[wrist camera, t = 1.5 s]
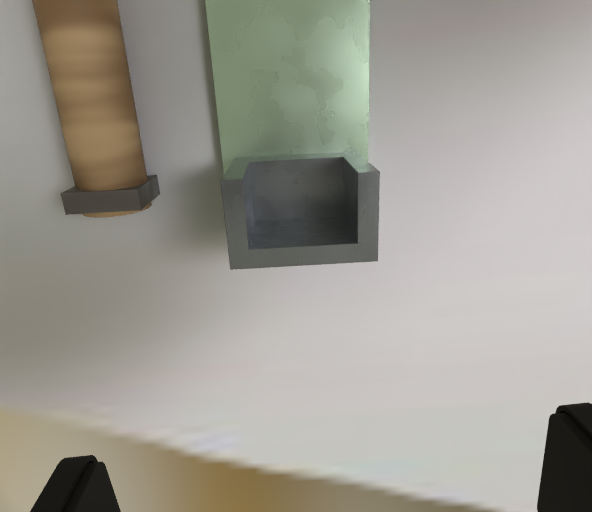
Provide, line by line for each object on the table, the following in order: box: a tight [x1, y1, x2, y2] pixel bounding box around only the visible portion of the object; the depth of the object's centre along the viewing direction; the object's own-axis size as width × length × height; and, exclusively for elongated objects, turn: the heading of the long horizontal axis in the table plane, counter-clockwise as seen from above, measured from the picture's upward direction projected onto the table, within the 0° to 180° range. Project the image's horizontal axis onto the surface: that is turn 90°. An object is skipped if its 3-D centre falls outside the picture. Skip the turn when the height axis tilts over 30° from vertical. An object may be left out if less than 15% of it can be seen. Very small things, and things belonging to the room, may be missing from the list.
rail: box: [32, 0, 160, 217], centre depth 23 cm, size 19×4×4 cm, turn 3°
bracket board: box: [205, 0, 380, 270], centre depth 21 cm, size 24×9×8 cm, turn 3°
